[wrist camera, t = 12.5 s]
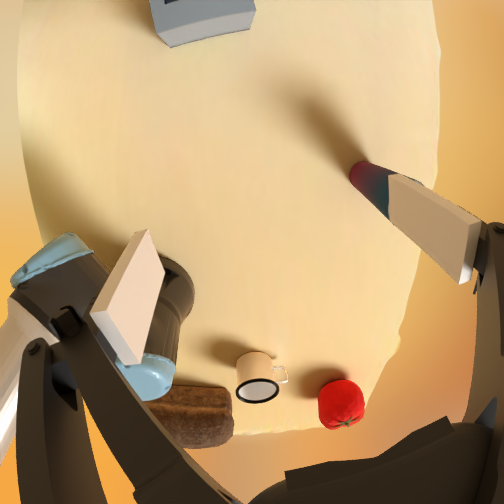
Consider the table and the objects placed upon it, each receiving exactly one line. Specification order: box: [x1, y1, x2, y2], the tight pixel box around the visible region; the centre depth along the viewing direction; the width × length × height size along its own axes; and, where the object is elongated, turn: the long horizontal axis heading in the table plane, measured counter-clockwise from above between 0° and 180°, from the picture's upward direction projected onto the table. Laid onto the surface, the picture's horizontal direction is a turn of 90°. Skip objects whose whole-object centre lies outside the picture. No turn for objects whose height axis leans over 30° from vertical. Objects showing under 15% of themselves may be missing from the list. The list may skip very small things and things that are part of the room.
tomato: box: [318, 380, 365, 430], centre depth 69 cm, size 16×14×14 cm
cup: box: [350, 161, 425, 225], centre depth 40 cm, size 7×7×15 cm
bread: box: [143, 385, 234, 449], centre depth 64 cm, size 15×32×16 cm, turn 83°
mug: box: [236, 352, 288, 404], centre depth 62 cm, size 12×10×9 cm
